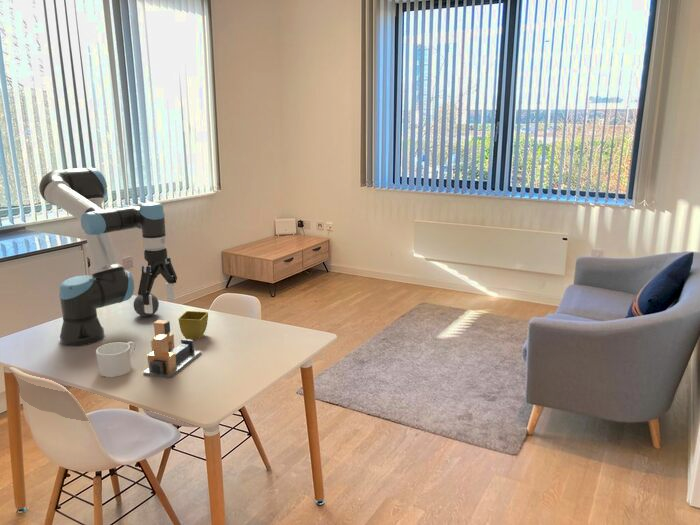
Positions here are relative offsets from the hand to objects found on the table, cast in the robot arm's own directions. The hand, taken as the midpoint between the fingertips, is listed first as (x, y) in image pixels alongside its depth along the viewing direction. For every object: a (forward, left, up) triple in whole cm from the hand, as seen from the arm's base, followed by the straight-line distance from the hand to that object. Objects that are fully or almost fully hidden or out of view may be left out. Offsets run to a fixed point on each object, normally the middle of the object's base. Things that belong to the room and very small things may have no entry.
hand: (160, 306), depth 200 cm
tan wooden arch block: (0, 0, -17) cm, 17 cm away
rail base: (+9, -8, -17) cm, 21 cm away
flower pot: (+4, +15, -17) cm, 23 cm away
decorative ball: (-27, +30, -17) cm, 44 cm away
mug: (-6, -17, -17) cm, 25 cm away
